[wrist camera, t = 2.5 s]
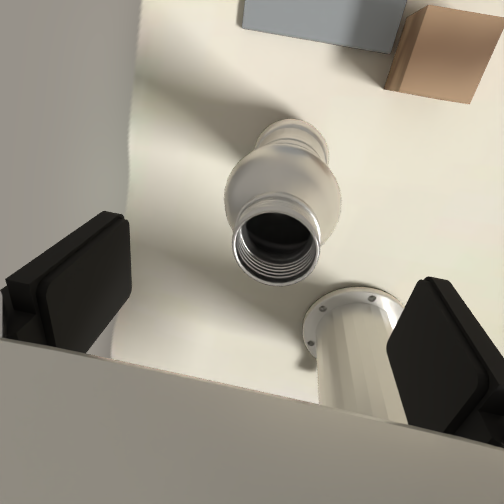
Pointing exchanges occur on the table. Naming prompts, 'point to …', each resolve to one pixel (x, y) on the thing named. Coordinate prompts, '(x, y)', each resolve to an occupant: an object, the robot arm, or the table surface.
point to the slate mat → (329, 21)
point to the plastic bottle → (282, 203)
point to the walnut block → (443, 53)
